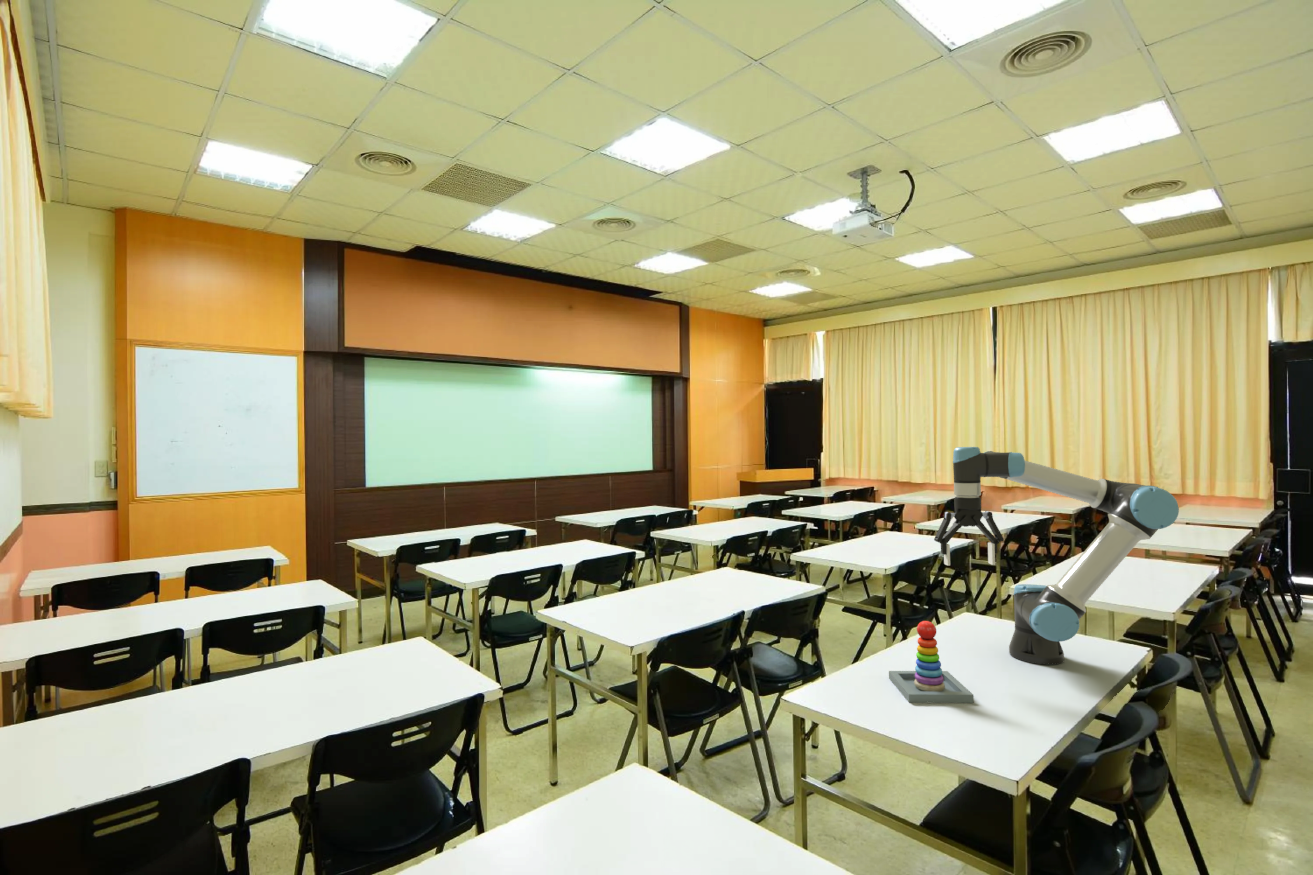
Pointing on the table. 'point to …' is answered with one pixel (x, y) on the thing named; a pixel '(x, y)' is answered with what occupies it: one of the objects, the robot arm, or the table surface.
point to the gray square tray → (950, 694)
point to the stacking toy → (928, 660)
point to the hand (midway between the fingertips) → (969, 564)
